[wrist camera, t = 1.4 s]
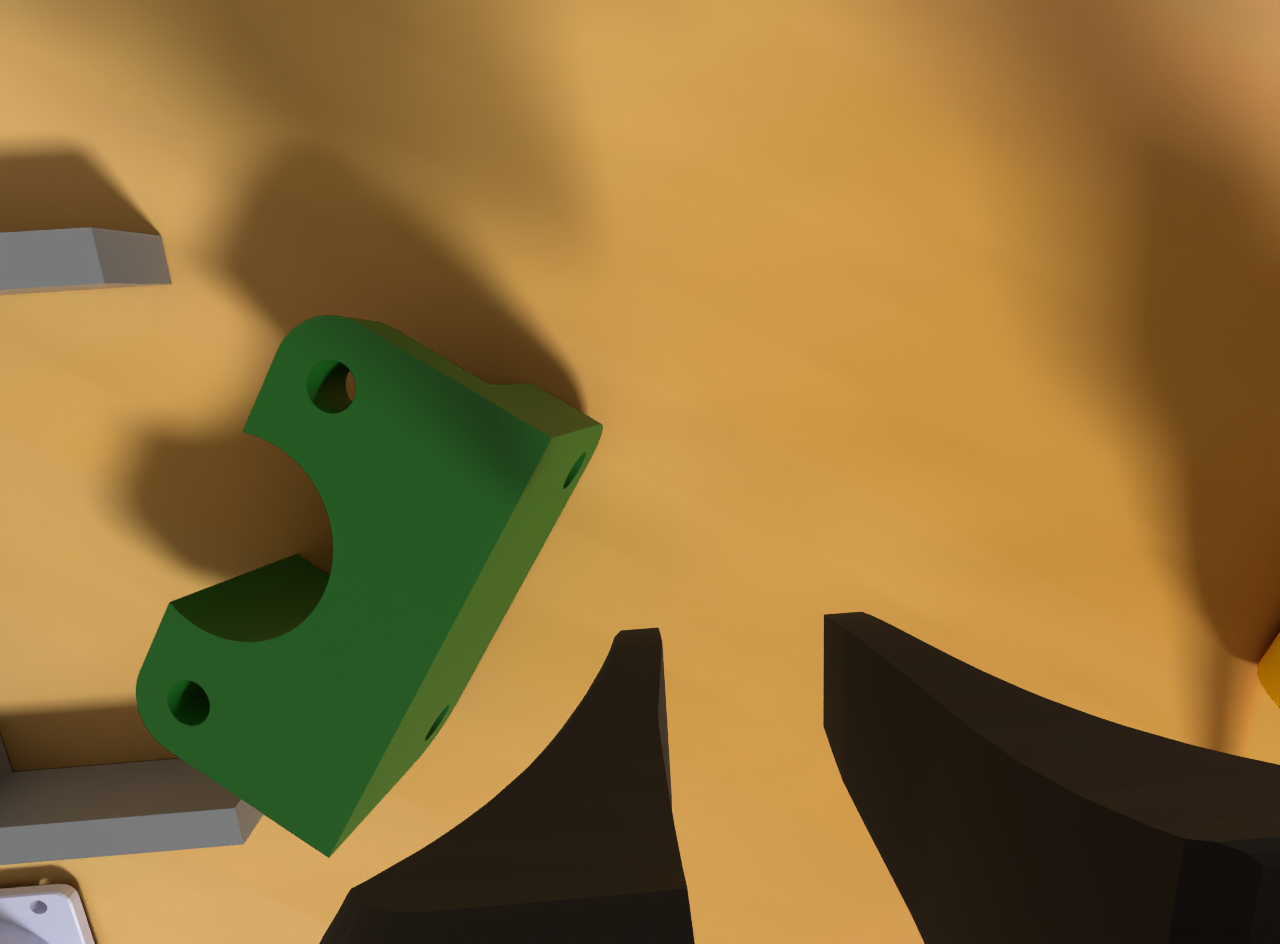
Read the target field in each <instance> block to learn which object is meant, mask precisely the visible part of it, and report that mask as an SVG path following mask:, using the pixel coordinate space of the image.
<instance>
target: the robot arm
mask: <svg viewBox="0 0 1280 944" xmlns="http://www.w3.org/2000/svg"><path fill="white" fill-rule="evenodd" d="M824 729H825V732H826V735H827V738H828V740H829V743H830V746H831V749H832V752H833V755H834V758H835V761H836V763H837V766H838V769H839V771H840V774H841V777H842V780H843V782H844V784H845V786H846V788H847V790H848V792H849V794H850V796H851V798H852V800H853V802H854V804H855V806H856V808H857V810H858V812H859V814H860V816H861V818H862V820H863V822H864V824H865V826H866V828H867V830H868V832H869V834H870V835H871V837H872V839H873V841H874V843H875V845H876V847H877V849H878V851H879V853H880V855H881V857H882V859H883V861H884V863H885V864H886V866H887V868H888V870H889V872H890V874H891V876H892V878H893V880H894V882H895V884H896V886H897V888H898V890H899V892H900V893H901V895H902V897H903V899H904V901H905V903H906V905H907V907H908V909H909V911H910V913H911V915H912V917H913V919H914V921H915V924H916V926H917V928H918V930H919V932H920V934H921V936H922V939H923V941H924V943H925V944H1280V765H1277V764H1273V763H1268V762H1263V761H1259V760H1254V759H1249V758H1244V757H1240V756H1235V755H1231V754H1227V753H1223V752H1218V751H1214V750H1210V749H1206V748H1202V747H1198V746H1194V745H1190V744H1186V743H1183V742H1179V741H1176V740H1172V739H1168V738H1165V737H1161V736H1158V735H1154V734H1151V733H1147V732H1144V731H1140V730H1137V729H1133V728H1130V727H1127V726H1124V725H1120V724H1117V723H1114V722H1111V721H1108V720H1105V719H1102V718H1099V717H1096V716H1093V715H1090V714H1087V713H1085V712H1082V711H1079V710H1076V709H1074V708H1071V707H1068V706H1065V705H1062V704H1060V703H1057V702H1054V701H1051V700H1049V699H1046V698H1044V697H1041V696H1039V695H1036V694H1034V693H1031V692H1029V691H1026V690H1024V689H1022V688H1019V687H1017V686H1015V685H1013V684H1010V683H1008V682H1006V681H1004V680H1001V679H999V678H997V677H995V676H992V675H990V674H988V673H986V672H983V671H981V670H979V669H977V668H975V667H973V666H971V665H969V664H967V663H965V662H963V661H961V660H959V659H957V658H954V657H952V656H950V655H949V654H947V653H945V652H943V651H941V650H939V649H937V648H935V647H933V646H931V645H929V644H927V643H925V642H923V641H921V640H919V639H917V638H915V637H914V636H912V635H910V634H908V633H906V632H904V631H902V630H900V629H898V628H896V627H894V626H892V625H890V624H888V623H886V622H884V621H882V620H880V619H878V618H876V617H874V616H871V615H869V614H866V613H864V612H852V613H839V614H827V615H824ZM0 944H95V943H94V940H93V937H92V934H91V931H90V928H89V925H88V922H87V918H86V915H85V912H84V909H83V906H82V903H81V900H80V897H79V894H78V892H77V891H76V889H74V888H73V887H72V886H70V885H67V884H50V885H39V886H27V887H16V888H4V889H0ZM319 944H695V943H694V936H693V928H692V921H691V913H690V905H689V898H688V890H687V885H686V881H685V876H684V872H683V867H682V862H681V857H680V852H679V847H678V842H677V837H676V831H675V826H674V820H673V814H672V795H671V778H670V762H669V745H668V729H667V712H666V696H665V680H664V663H663V647H662V640H661V635H660V631H659V628H648V629H635V630H622V631H620V632H619V633H618V634H617V635H616V636H615V637H614V640H613V644H612V646H611V649H610V651H609V653H608V656H607V658H606V660H605V662H604V664H603V666H602V668H601V670H600V671H599V673H598V675H597V676H596V678H595V680H594V682H593V683H592V685H591V687H590V688H589V690H588V692H587V693H586V695H585V696H584V698H583V700H582V701H581V702H580V704H579V705H578V707H577V708H576V709H575V711H574V712H573V714H572V715H571V716H570V718H569V719H568V721H567V722H566V723H565V725H564V726H563V728H562V729H561V730H560V731H559V733H558V734H557V735H556V736H555V738H554V739H553V740H552V741H551V742H550V744H549V745H548V746H547V747H546V748H545V749H544V750H543V752H542V753H541V754H540V755H539V756H538V757H537V758H536V759H535V760H534V761H533V762H532V764H531V765H530V766H529V767H528V768H527V769H526V770H525V771H524V772H522V773H521V774H520V775H519V776H518V777H517V778H516V779H515V780H513V781H512V782H511V783H510V784H509V785H508V786H507V787H505V788H504V789H503V790H502V791H501V792H500V793H499V794H498V795H496V796H495V797H494V798H493V799H492V800H491V801H489V802H488V803H487V804H486V805H484V806H483V807H482V808H480V809H479V810H478V811H476V812H475V813H474V814H472V815H471V816H470V817H468V818H467V819H466V820H464V821H463V822H462V823H460V824H459V825H457V826H456V827H454V828H453V829H451V830H450V831H449V832H447V833H446V834H444V835H443V836H441V837H440V838H438V839H437V840H435V841H434V842H432V843H431V844H429V845H427V846H426V847H424V848H423V849H421V850H419V851H418V852H416V853H414V854H412V855H411V856H409V857H407V858H405V859H404V860H402V861H400V862H398V863H397V864H395V865H393V866H392V867H390V868H388V869H386V870H385V871H383V872H381V873H379V874H378V875H376V876H374V877H372V878H371V879H369V880H367V881H365V882H363V883H361V884H359V885H357V886H356V887H354V888H352V889H351V890H350V891H349V893H348V894H347V896H346V898H345V900H344V902H343V904H342V905H341V907H340V909H339V911H338V913H337V914H336V916H335V918H334V919H333V921H332V923H331V924H330V926H329V928H328V929H327V931H326V932H325V934H324V936H323V938H322V940H321V942H320V943H319Z"/></svg>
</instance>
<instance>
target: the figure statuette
mask: <svg viewBox="0 0 1280 944" xmlns="http://www.w3.org/2000/svg"><path fill="white" fill-rule="evenodd" d="M1257 675H1258V677H1259V680H1260V683H1261V685H1262V686H1263V688H1264V689H1265V691H1266V692H1267V694H1268V695H1269V696H1270V697H1271V699H1272V700H1273V701H1274V702H1275V703H1276V704H1277V705H1278V707H1279V708H1280V632H1279V634H1278V635H1277V637H1276V638H1275V640H1274V641H1273V643H1272V644H1271V646H1270V647H1269V649H1268V650H1267V651H1266V653H1265V654H1264V656H1263V657H1262V659H1261V660H1260V662H1259V665H1258V669H1257Z"/></svg>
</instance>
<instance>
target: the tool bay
mask: <svg viewBox="0 0 1280 944" xmlns="http://www.w3.org/2000/svg"><path fill="white" fill-rule="evenodd" d="M166 284H171V280H170V275H169V271H168V266H167V262H166V257H165V253H164V249H163V244H162V240H161V236H160V235H152V234H144V233H135V232H127V231H119V230H111V229H102V228H94V227H85V228H68V229H52V230H36V231H20V232H4V233H0V295H9V294H25V293H40V292H56V291H72V290H87V289H103V288H119V287H134V286H150V285H166ZM262 816H263V813H261V812H260V811H258V810H257V809H255V808H254V807H252V806H251V805H249V804H248V803H246V802H245V801H243V800H242V799H240V798H239V797H237V796H236V795H234V794H233V793H231V792H230V791H228V790H227V789H225V788H224V787H222V786H221V785H219V784H218V783H216V782H215V781H213V780H212V779H210V778H209V777H207V776H206V775H204V774H203V773H201V772H200V771H198V770H197V769H195V768H194V767H192V766H191V765H189V764H188V763H186V762H185V761H183V760H182V759H180V758H179V759H167V760H155V761H143V762H130V763H118V764H106V765H94V766H82V767H69V768H57V769H45V770H33V771H20V772H13V771H12V768H11V765H10V762H9V760H8V757H7V754H6V751H5V748H4V745H3V742H2V739H1V736H0V865H7V864H18V863H30V862H42V861H54V860H65V859H77V858H89V857H100V856H112V855H124V854H136V853H147V852H159V851H171V850H182V849H194V848H206V847H218V846H229V845H241V844H244V843H245V842H246V840H247V839H248V837H249V836H250V834H251V832H252V831H253V829H254V828H255V826H256V825H257V823H258V822H259V820H260V819H261V817H262Z"/></svg>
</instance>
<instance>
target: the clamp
mask: <svg viewBox="0 0 1280 944" xmlns="http://www.w3.org/2000/svg"><path fill="white" fill-rule="evenodd" d="M349 371H351V373H352V374H353V377H354V379H355V384H356V393H355V397H354V400H353V402H352V401H351V400H350V398H349V397H348V394H347V391H346V377H347V374H348V372H349ZM602 430H603V425H602V424H601V423H599V422H597V421H595V420H594V419H592V418H590V417H589V416H587V415H585V414H583V413H582V412H580V411H578V410H577V409H575V408H573V407H572V406H570V405H568V404H566V403H565V402H563V401H561V400H560V399H558V398H556V397H554V396H553V395H551V394H549V393H548V392H546V391H544V390H543V389H541V388H539V387H537V386H536V385H534V384H495V385H489V384H488V383H486V382H484V381H483V380H481V379H479V378H478V377H476V376H474V375H473V374H471V373H469V372H467V371H466V370H464V369H462V368H461V367H459V366H457V365H456V364H454V363H452V362H450V361H449V360H447V359H445V358H444V357H442V356H440V355H439V354H437V353H435V352H433V351H432V350H430V349H428V348H427V347H425V346H423V345H422V344H420V343H418V342H417V341H415V340H413V339H411V338H410V337H408V336H406V335H405V334H403V333H401V332H400V331H398V330H396V329H394V328H393V327H391V326H389V325H386V324H383V323H380V322H375V321H368V320H361V319H354V318H347V317H340V316H329V315H327V316H319V317H314V318H311V319H308V320H306V321H304V322H302V323H301V324H299V325H298V326H296V327H295V328H294V329H292V330H291V331H290V332H289V333H288V335H287V336H286V337H285V338H284V340H283V341H282V343H281V344H280V346H279V348H278V350H277V352H276V355H275V357H274V359H273V362H272V364H271V366H270V369H269V371H268V373H267V376H266V378H265V380H264V383H263V385H262V387H261V390H260V392H259V394H258V397H257V399H256V401H255V404H254V406H253V408H252V411H251V413H250V415H249V418H248V420H247V422H246V425H245V427H244V429H243V432H244V433H248V434H251V435H254V436H257V437H260V438H262V439H264V440H266V441H268V442H270V443H272V444H274V445H275V446H277V447H279V448H280V449H282V450H283V451H284V452H285V453H287V454H288V455H289V456H290V457H292V458H293V459H294V460H295V461H296V462H297V463H298V464H299V465H300V466H301V468H302V469H303V470H304V471H305V472H306V473H307V475H308V476H309V478H310V479H311V480H312V482H313V483H314V485H315V487H316V489H317V490H318V492H319V494H320V496H321V498H322V500H323V503H324V505H325V508H326V511H327V514H328V517H329V521H330V525H331V530H332V538H333V561H332V568H331V574H330V576H329V575H327V574H325V573H324V572H322V571H320V570H319V569H317V568H316V567H315V566H313V565H312V564H311V563H310V562H308V561H307V560H305V559H304V558H303V557H301V556H300V555H299V554H295V555H293V556H290V557H287V558H285V559H282V560H280V561H277V562H274V563H272V564H269V565H266V566H264V567H261V568H258V569H256V570H253V571H251V572H248V573H245V574H243V575H240V576H237V577H235V578H232V579H230V580H227V581H224V582H222V583H219V584H216V585H214V586H211V587H208V588H206V589H203V590H201V591H198V592H195V593H193V594H190V595H187V596H185V597H182V598H180V599H177V600H174V601H172V602H169V605H168V607H167V609H166V612H165V614H164V616H163V619H162V621H161V623H160V626H159V628H158V630H157V633H156V635H155V637H154V640H153V642H152V644H151V647H150V649H149V651H148V654H147V656H146V658H145V661H144V663H143V665H142V668H141V670H140V672H139V675H138V679H137V684H136V700H137V706H138V710H139V713H140V716H141V718H142V720H143V723H144V724H145V726H146V728H147V729H148V731H149V732H150V734H151V735H152V736H153V737H154V739H155V740H156V741H157V742H158V743H159V744H161V745H162V746H163V747H164V748H166V749H167V750H168V751H170V752H171V753H173V754H174V755H176V756H177V757H179V758H180V759H182V760H183V761H185V762H186V763H188V764H189V765H191V766H192V767H194V768H195V769H197V770H198V771H200V772H201V773H203V774H204V775H206V776H207V777H209V778H210V779H212V780H213V781H215V782H216V783H218V784H219V785H221V786H222V787H224V788H225V789H227V790H228V791H230V792H231V793H233V794H234V795H236V796H237V797H239V798H240V799H242V800H243V801H245V802H246V803H248V804H249V805H251V806H252V807H254V808H255V809H257V810H258V811H260V812H261V813H263V814H264V815H266V816H267V817H269V818H270V819H272V820H273V821H274V822H276V823H277V824H279V825H280V826H282V827H283V828H285V829H286V830H288V831H289V832H291V833H292V834H294V835H295V836H297V837H298V838H300V839H301V840H303V841H304V842H306V843H307V844H309V845H310V846H312V847H313V848H315V849H316V850H318V851H319V852H321V853H322V854H324V855H325V856H327V857H328V858H329V857H330V856H331V855H332V854H333V853H334V852H335V851H336V849H337V848H338V847H339V846H340V845H341V844H342V843H343V842H344V841H345V839H346V838H347V837H348V836H349V835H350V834H351V833H352V832H353V831H354V830H355V828H356V827H357V826H358V825H359V824H360V823H361V822H362V821H363V820H364V818H365V817H366V816H367V815H368V814H369V813H370V812H371V811H372V810H373V808H374V807H375V806H376V805H377V804H378V803H379V802H380V801H381V800H382V798H383V797H384V796H385V795H386V794H387V793H388V792H389V791H390V790H391V789H392V787H393V786H394V785H395V784H396V783H397V782H398V781H399V780H400V779H401V777H402V776H403V775H404V774H405V773H406V772H407V771H408V770H409V769H410V767H411V766H412V765H413V764H414V763H415V762H416V761H417V760H418V759H419V757H420V756H421V755H422V754H423V753H424V751H425V750H426V749H427V747H428V746H429V745H430V743H431V742H432V741H433V739H434V738H435V736H436V735H437V734H438V732H439V731H440V729H441V728H442V726H443V725H444V723H445V722H446V720H447V719H448V717H449V715H450V714H451V712H452V710H453V709H454V707H455V705H456V704H457V702H458V700H459V698H460V696H461V695H462V693H463V691H464V689H465V687H466V685H467V684H468V682H469V680H470V678H471V676H472V674H473V673H474V671H475V669H476V667H477V665H478V664H479V662H480V660H481V658H482V656H483V654H484V653H485V651H486V649H487V647H488V645H489V643H490V642H491V640H492V638H493V636H494V634H495V633H496V631H497V629H498V627H499V625H500V623H501V622H502V620H503V618H504V616H505V614H506V612H507V611H508V609H509V607H510V605H511V603H512V602H513V600H514V598H515V596H516V594H517V592H518V591H519V589H520V587H521V585H522V583H523V581H524V580H525V578H526V576H527V574H528V572H529V570H530V569H531V567H532V565H533V563H534V561H535V560H536V558H537V556H538V554H539V552H540V550H541V549H542V547H543V545H544V543H545V541H546V539H547V538H548V536H549V534H550V532H551V530H552V529H553V527H554V525H555V523H556V521H557V519H558V518H559V516H560V514H561V512H562V510H563V508H564V507H565V505H566V503H567V501H568V499H569V497H570V496H571V494H572V492H573V490H574V488H575V487H576V485H577V483H578V481H579V479H580V477H581V476H582V474H583V472H584V470H585V468H586V466H587V465H588V463H589V461H590V459H591V457H592V455H593V453H594V451H595V449H596V447H597V444H598V442H599V440H600V437H601V434H602Z"/></svg>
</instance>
